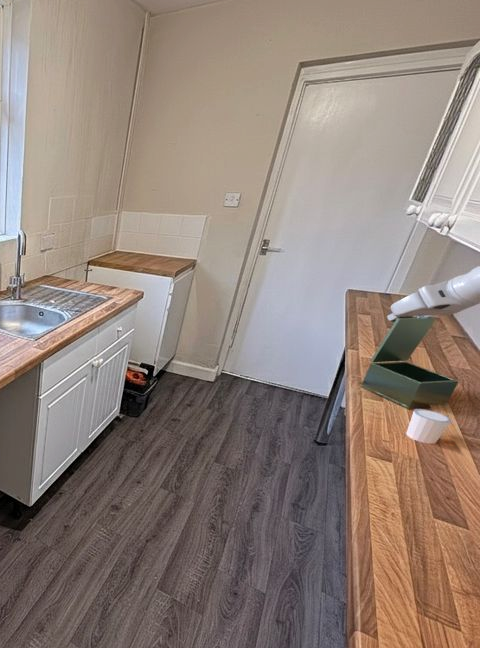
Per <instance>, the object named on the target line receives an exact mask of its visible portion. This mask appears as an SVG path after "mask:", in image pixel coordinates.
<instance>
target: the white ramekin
mask: <svg viewBox="0 0 480 648" xmlns="http://www.w3.org/2000/svg"><path fill="white" fill-rule="evenodd" d="M451 423H452V419H451V418H450V417H449V416H447V415H445V414H443V413H440V412H438V411H434V410H430V409H426V408H422V409H413V412H412V415H411V417H410V421H409V424H408V427H407V430H406V432H405V435H406V436H407V437H408V438H409V439H411V440H414V441H416V442H419V443H423V444H427V445H434V444H437V442H438V440H439V439H440V437H441V436H442V435H443V434H444V432H445V431H446V429H447V428H448V427H449V425H450V424H451Z"/></svg>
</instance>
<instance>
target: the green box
mask: <svg viewBox="0 0 480 648" xmlns="http://www.w3.org/2000/svg"><path fill="white" fill-rule="evenodd" d="M459 382H460V381H459V380H456V379H454V378H451V377H449V376H446V375H443V374H440V373H438V372H435V371H433V370H429V369H427V368H425V367H422V366H420V365H416V364H414V363H411V362H409V361H389V362H370V364H369V366H368V368H367V371H366V374H365V375H364V378H363V380H362V383H361V385H360V388H361V389H364V390H366V391H368V392H370V393H372V394H375V395H377V396H379V397H381V398H383V399H385V400H386V401H390V402H392V403H393V404H396V405H398V406H400V407H401V408H404V409H406V410H415V409H432V407H431V405H441V404H448V403H449V402H450V399H451V397H452V396H453V394H454V392H455V389H456V388H457V385H458V384H459Z"/></svg>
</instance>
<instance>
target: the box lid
mask: <svg viewBox="0 0 480 648" xmlns="http://www.w3.org/2000/svg"><path fill="white" fill-rule="evenodd" d="M436 320H437V317H435V316H431V317H424V318H415V317H414V316H400V317H399V318H398V319H396V320H393V321H391V322H392V323H393V324H392V326H391V327H390V329H389V331H388V332H387V333H386V335H385V337H384V339H383V340H382V342H381V343H380V345H379V346H378V348H377V349H376V351H375V353H374V354H373V356H372V357H371V359H370V363H383V362H404V361H406V362H409V360H410V358H411V356H412V355H413V353H414V352H415V350H416V349H417V348H418V347H419V345H420V343H421V342H422V340H423V339H424V338H425V336H426V334H428V331H430V329H431V327H432V326H433V324H434V323H435V321H436Z"/></svg>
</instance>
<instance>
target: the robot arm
mask: <svg viewBox="0 0 480 648" xmlns="http://www.w3.org/2000/svg"><path fill="white" fill-rule="evenodd" d="M479 304H480V265H478V266H476V267H474V268H472V269H471V270H470V271H469V272H466V273H463V274H461V275H460V274H459V275H457V276H455V277H452V278H451V279H447V280H445V281H442V282H438V283H435V284H430V285H429V284H428V285H424V286H421V287H420V288H418V291H417V292H413V293H411V294H409V295H407V296H405V297H403V298H401V299H399V300H396V301H395V302H393V303H391V306H390V308H389V309H390V311H391V312H392V313H390V314H387V316H386V318H387V320H388V321H390V322H392V321H393V320H396V319H398V318H399V317H400V316H412V317H413V318H424V317H435V316H451V315H455V314H457V313H460V312H462V311H465V310H467V309H469V308H471V307H472V308H473V307H474V306H476V305H479Z"/></svg>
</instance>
